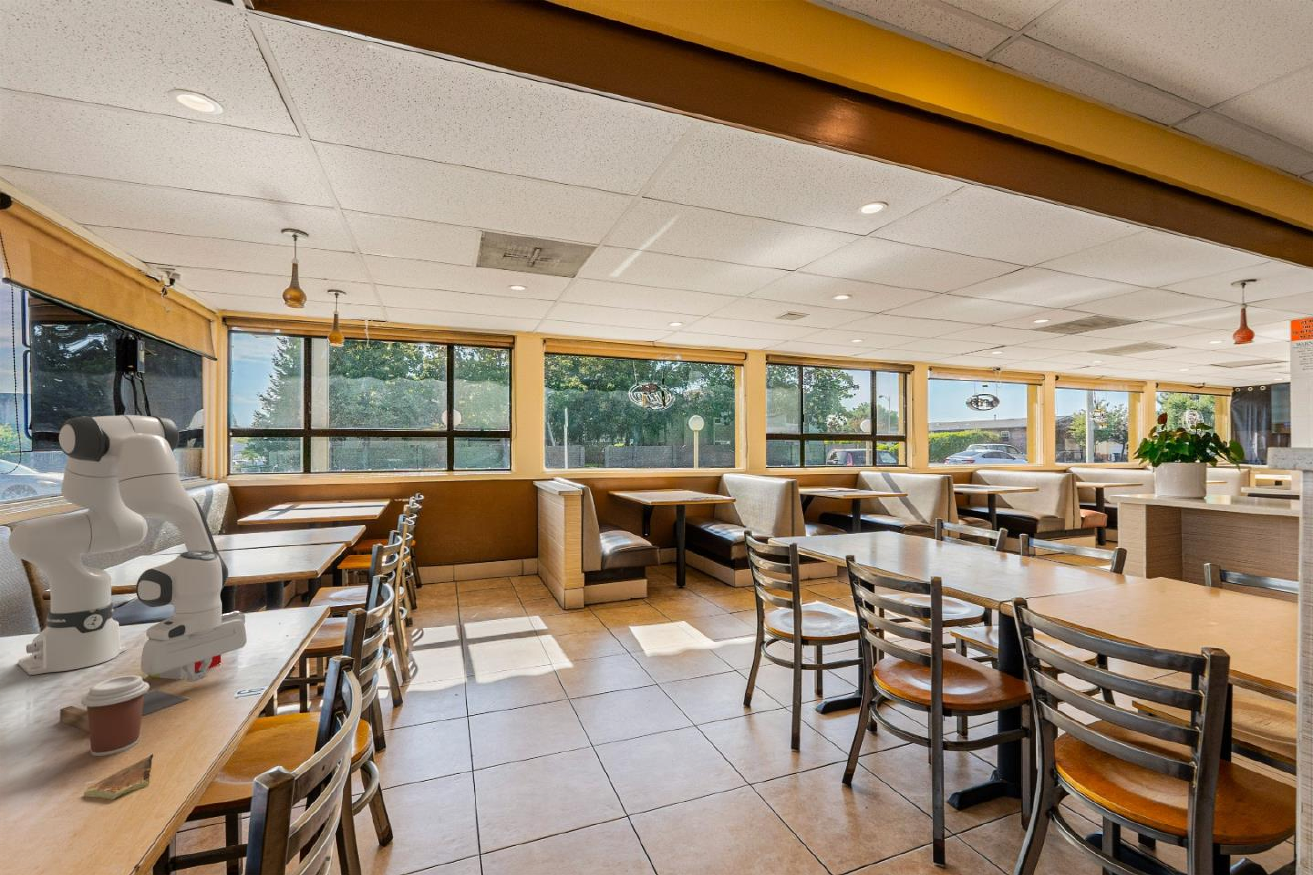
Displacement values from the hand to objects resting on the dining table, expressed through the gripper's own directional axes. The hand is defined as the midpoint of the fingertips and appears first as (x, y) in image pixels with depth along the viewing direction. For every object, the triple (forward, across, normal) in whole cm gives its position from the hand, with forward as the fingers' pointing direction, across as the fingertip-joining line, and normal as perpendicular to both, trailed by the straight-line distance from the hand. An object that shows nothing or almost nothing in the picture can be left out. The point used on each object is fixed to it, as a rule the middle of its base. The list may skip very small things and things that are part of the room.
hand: (196, 679), depth 130 cm
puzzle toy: (+2, -5, -14) cm, 15 cm away
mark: (+2, +11, 0) cm, 11 cm away
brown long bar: (+2, +20, 0) cm, 20 cm away
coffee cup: (+2, +22, +16) cm, 27 cm away
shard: (+2, +28, +31) cm, 42 cm away
